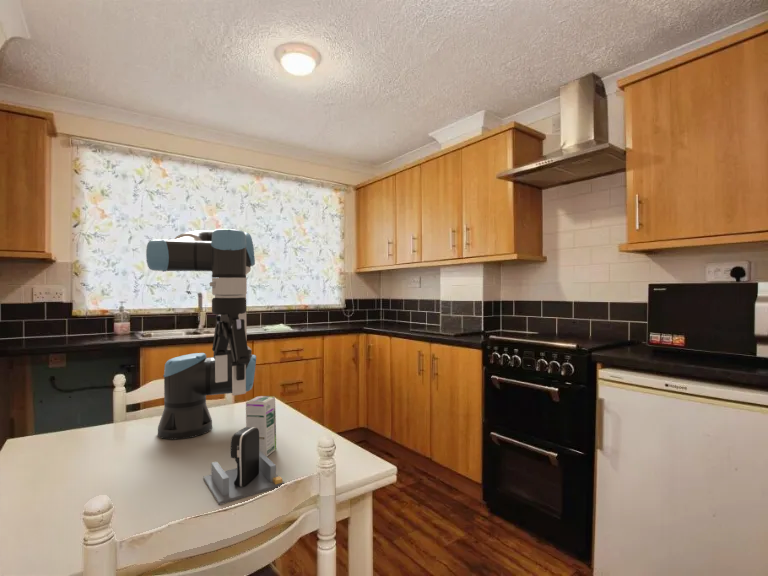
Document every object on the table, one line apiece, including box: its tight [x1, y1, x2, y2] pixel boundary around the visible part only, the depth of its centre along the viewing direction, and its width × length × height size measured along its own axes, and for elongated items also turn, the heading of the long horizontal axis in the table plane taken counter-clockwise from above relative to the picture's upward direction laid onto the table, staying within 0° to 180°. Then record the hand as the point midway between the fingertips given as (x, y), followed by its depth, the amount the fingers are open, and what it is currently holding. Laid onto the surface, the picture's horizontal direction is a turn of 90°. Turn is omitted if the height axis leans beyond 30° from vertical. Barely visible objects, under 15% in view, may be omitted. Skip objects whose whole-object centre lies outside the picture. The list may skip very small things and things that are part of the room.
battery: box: [230, 426, 259, 487], centre depth 93 cm, size 7×4×11 cm, turn 168°
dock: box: [202, 451, 286, 505], centre depth 93 cm, size 14×14×4 cm
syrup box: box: [245, 395, 277, 458], centre depth 110 cm, size 6×6×14 cm
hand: (229, 387), depth 96 cm, fingers open, 13 cm apart
